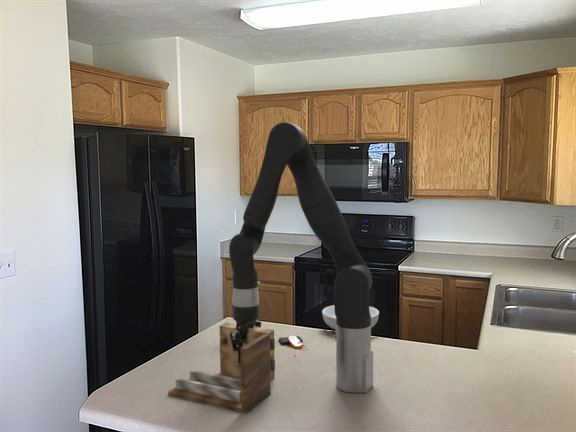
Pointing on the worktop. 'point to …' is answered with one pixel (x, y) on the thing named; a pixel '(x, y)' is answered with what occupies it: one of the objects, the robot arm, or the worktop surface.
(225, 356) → the oak door
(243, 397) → the hinge base
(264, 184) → the robot arm
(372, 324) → the serving bowl
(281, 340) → the multimeter
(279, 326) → the worktop surface
